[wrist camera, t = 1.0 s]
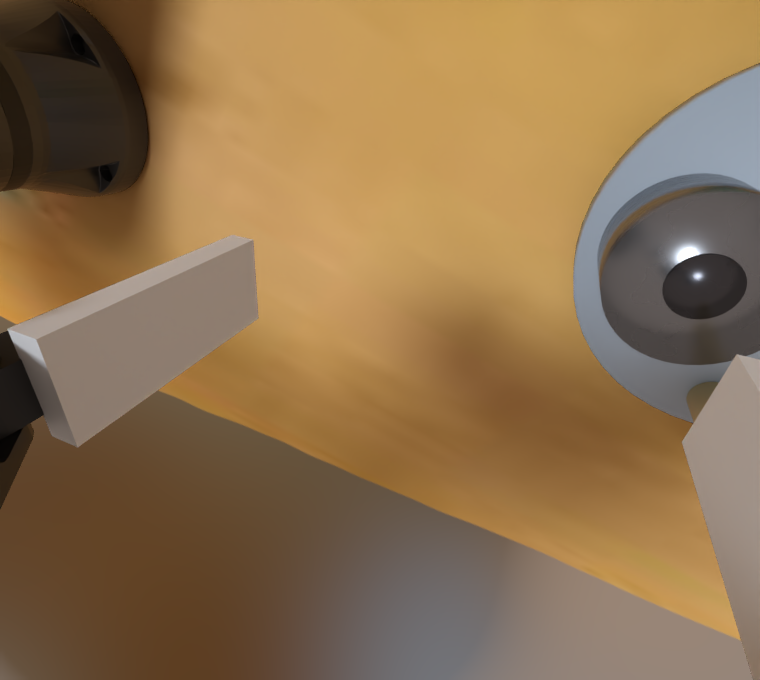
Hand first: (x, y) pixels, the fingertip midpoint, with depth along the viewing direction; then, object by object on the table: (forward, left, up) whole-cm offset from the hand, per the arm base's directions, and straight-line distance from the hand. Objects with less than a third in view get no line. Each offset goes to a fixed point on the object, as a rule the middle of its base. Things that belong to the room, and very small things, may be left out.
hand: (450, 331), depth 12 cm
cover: (+9, -1, -16) cm, 18 cm away
